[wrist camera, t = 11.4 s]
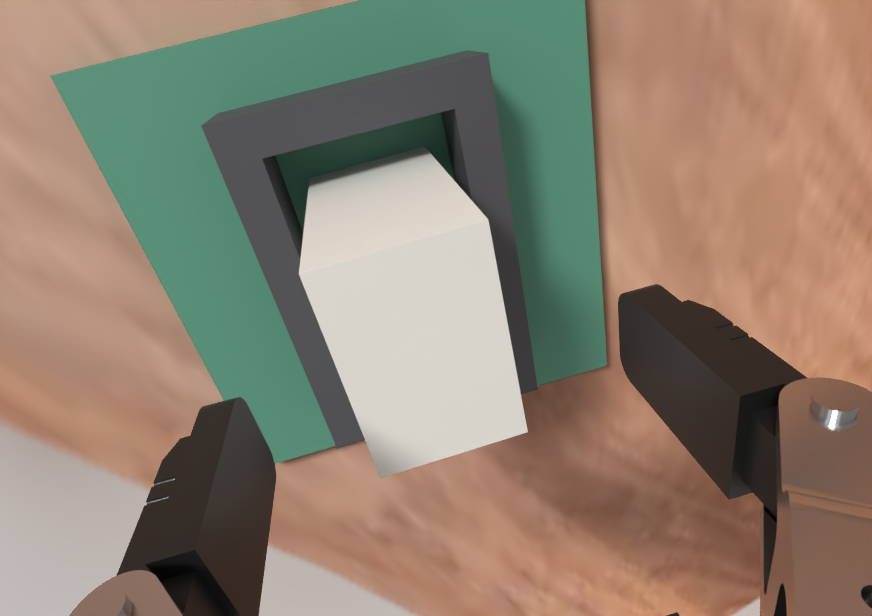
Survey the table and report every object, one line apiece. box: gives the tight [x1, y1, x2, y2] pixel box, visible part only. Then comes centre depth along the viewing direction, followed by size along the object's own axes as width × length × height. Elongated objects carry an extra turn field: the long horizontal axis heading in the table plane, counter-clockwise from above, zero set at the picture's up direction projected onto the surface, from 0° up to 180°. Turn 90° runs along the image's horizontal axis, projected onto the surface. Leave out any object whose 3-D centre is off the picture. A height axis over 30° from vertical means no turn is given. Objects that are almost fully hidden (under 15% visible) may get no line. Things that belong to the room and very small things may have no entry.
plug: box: [299, 146, 528, 478], centre depth 16 cm, size 4×7×8 cm, turn 13°
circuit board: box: [51, 0, 607, 464], centre depth 19 cm, size 16×16×4 cm
